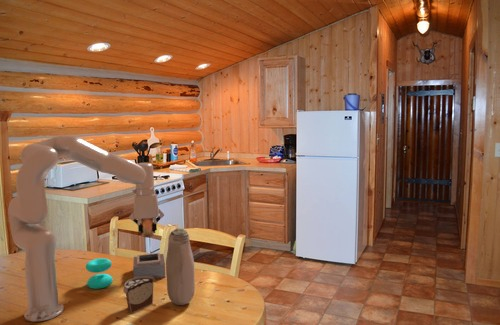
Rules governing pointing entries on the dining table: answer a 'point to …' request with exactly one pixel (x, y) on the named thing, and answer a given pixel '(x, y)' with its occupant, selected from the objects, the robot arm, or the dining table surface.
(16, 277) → the dining table surface
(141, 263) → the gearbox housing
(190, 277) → the beige bottle
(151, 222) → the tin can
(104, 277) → the donuts
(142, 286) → the brown piece
